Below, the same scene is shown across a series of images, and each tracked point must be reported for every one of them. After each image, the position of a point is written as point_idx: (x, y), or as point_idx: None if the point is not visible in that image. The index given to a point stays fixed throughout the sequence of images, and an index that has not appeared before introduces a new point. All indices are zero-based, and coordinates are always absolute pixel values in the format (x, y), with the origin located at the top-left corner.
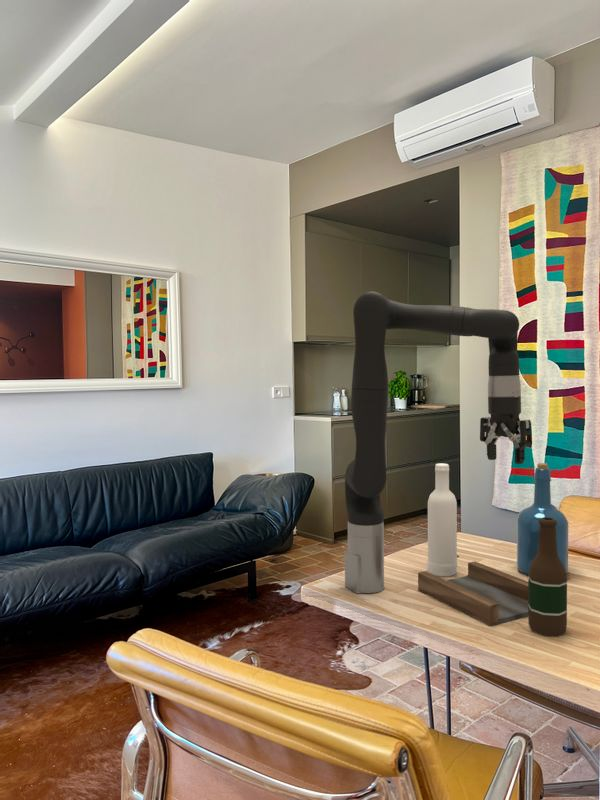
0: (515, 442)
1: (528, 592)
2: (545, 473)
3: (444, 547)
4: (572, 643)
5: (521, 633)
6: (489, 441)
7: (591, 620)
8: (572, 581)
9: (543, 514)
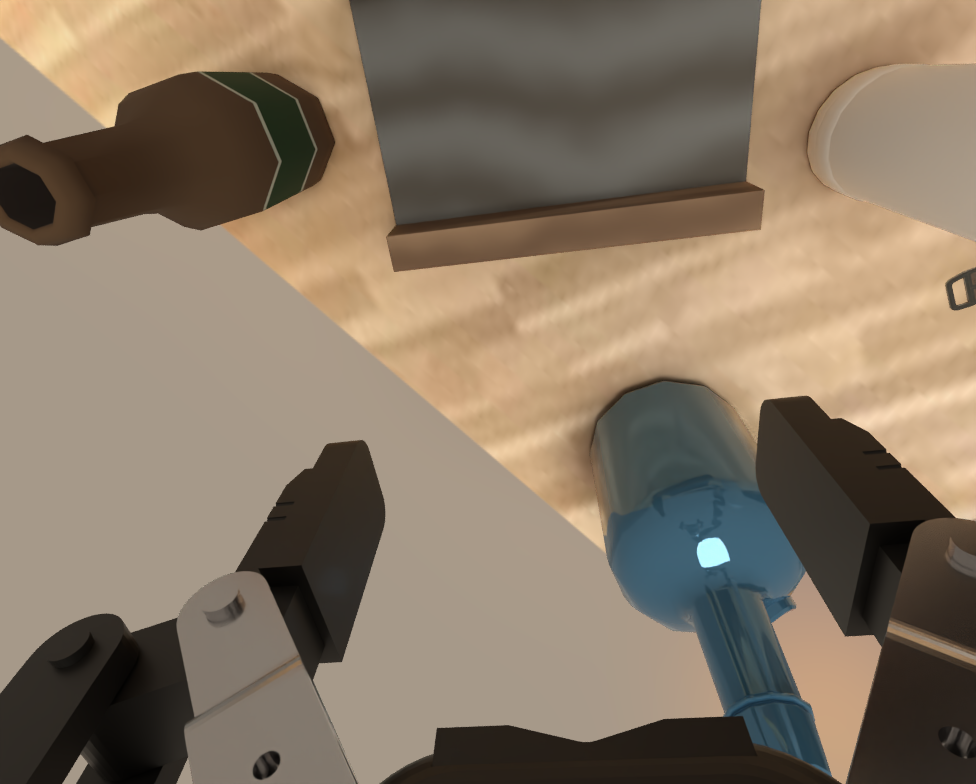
0: (231, 648)
1: (276, 99)
2: None
3: (886, 112)
4: None
5: (270, 28)
6: (909, 572)
7: (314, 299)
8: (561, 454)
9: (666, 553)
